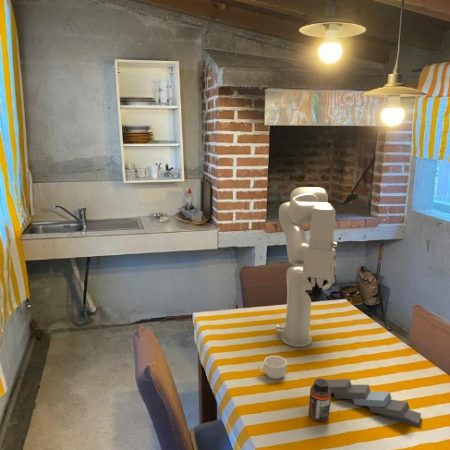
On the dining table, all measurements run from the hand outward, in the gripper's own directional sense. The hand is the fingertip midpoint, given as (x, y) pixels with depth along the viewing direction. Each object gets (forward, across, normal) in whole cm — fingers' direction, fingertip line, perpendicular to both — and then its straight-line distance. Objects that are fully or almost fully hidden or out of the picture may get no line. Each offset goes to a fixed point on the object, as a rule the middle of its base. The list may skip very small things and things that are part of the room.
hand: (316, 297), depth 135 cm
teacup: (+29, +12, +7) cm, 32 cm away
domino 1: (+28, -5, +7) cm, 29 cm away
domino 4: (+28, -22, +9) cm, 36 cm away
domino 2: (+28, -10, +7) cm, 30 cm away
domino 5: (+28, -25, +8) cm, 39 cm away
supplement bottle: (+29, -8, +20) cm, 36 cm away
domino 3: (+28, -17, +7) cm, 33 cm away
